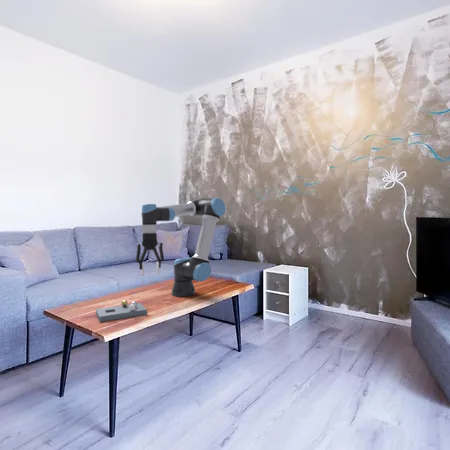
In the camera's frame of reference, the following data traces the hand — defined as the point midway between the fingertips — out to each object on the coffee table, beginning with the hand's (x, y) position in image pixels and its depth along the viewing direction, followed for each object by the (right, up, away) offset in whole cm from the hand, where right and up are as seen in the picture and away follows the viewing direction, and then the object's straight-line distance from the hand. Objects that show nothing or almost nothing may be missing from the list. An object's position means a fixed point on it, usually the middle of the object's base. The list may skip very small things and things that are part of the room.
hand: (150, 274), depth 172 cm
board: (-13, -20, -7) cm, 25 cm away
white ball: (-7, -15, -9) cm, 19 cm away
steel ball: (-8, -15, -4) cm, 18 cm away
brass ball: (-14, -15, -1) cm, 20 cm away
